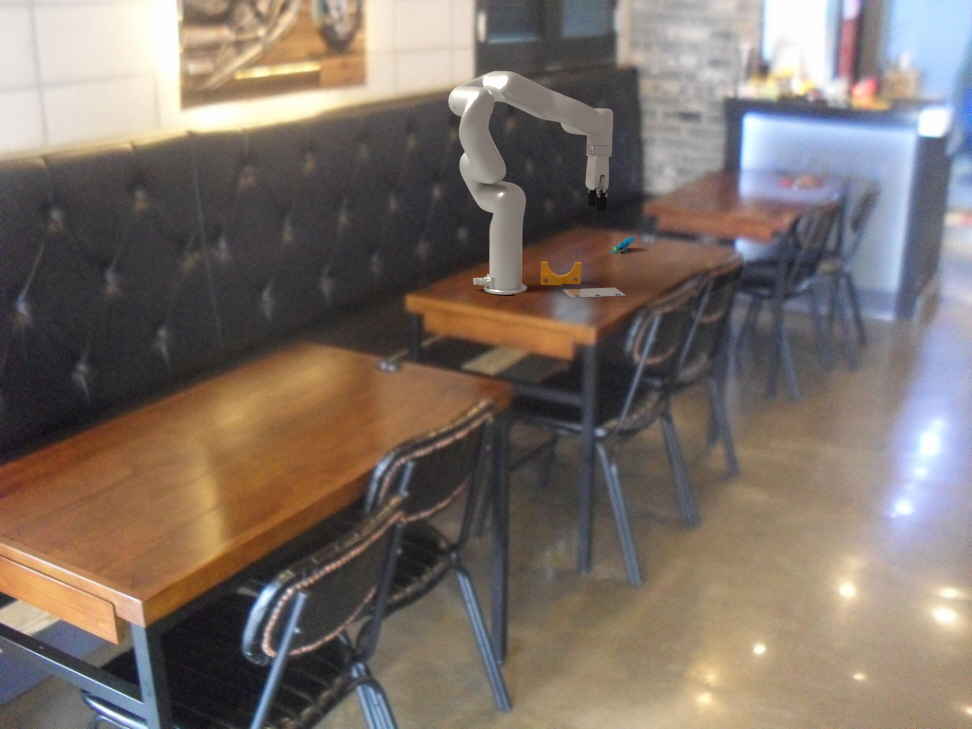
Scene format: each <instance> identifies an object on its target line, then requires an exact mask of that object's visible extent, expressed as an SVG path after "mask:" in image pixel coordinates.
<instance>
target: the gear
mask: <svg viewBox="0 0 972 729" xmlns="http://www.w3.org/2000/svg"><path fill="white" fill-rule="evenodd" d="M634 240H635V236H632V235H630V236H629V237H628V238H627V237H626V238H625V239H623V241H620V242H619V243H618V245H616V246H615V245H614V246H613V247H612V249H613V250H611V251H609V253H610V254H613V253H615V254H616V255H620V256H621V253H628V249H627V248H630V246H631V244H632V243H634Z"/></svg>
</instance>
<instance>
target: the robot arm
mask: <svg viewBox="0 0 972 729" xmlns="http://www.w3.org/2000/svg"><path fill="white" fill-rule="evenodd" d="M447 102H448V107H449V108H450V111H451V113H453V114H455V115H456V116H458V117H460V118H461V119H460V123H459V129H458V137H459V141H460V145H461V147H462V149H463V150H464V152H463V154H462V155H461V157H460V159H459V172H460V175H461V177H462V179H463V181H464V182H465V184H466V186H467V189H468V190H469V192H470V194H471V195H472V197H473V199H474V201H475V203H476V204H477V205H478V207H479V208H480V209H482V210H483V211H485V212H488V213H492V218H491V221H490V224H489V273H487V274H486V276H484V277H473V285H479V286H483V289H484V291H485V292H486V293H488V294H493V295H507V296H508V295H514V294H519V293H522V292H523V293H524V292H526V291H527V290H528V286H527V285H525V284H524V283H522V281H523V278H522V277H523V225H524V215H525V210H526V205H527V198H526V194H525V192H524V190H523V189H522V188H521V187H520V186H519V185H517V184H515V183H513V182H509V181H508V182H507V181H503V179H504V178H505V176H506V174H507V167H506V164H505V160H504V159H503V157H502V155H501V154H500V151H499V149H498V148H497V145H496V144H495V142H494V140H493V138H492V135H491V133H490V128H489V124H490V119H491V115H492V113H493V110H494V107H495V103H496V102H499V103H506V104H507V105H510V106H513V107H514V108H516V109H519V110H521V111H522V112H525V113H527V114H529V115H531V116H533V117H535V118H539V119H541V120H546V121H550V122H555V123H556V122H557V123H560V125H561V127H562V129H563V130H564V131H565V132H566V133H568V134H572V135H580V136H581V135H582V136H586V155H585V156H587V161H586V170H585V171H586V173H585V186H586V188H588V189H587V191H588V193H587V207H595V211H597V212H599V211H604V212H605V211H607V208H608V207H607V206H608V205H607V204H608V188H609V182H610V176H609V175H610V157H612V155H613V130H614V112H613V110H612V109H610V108H604V107H603V108H601V107H599V108H598V107H597V108H594V107H592V106H590V105H588V104H586V103H584V102H582V101H579V100H577V99H575V98H572V97H569V96H567V95H564V94H562V93H560V92H557V91H555V90H552V89H549V88H547V87H545V86H543V85H541V84H539V83H537V82H534V81H533V80H531V79H529V78H527V77H525V76H523V75H521V74H519V73H516V72H514V71H510V70H509V71H508V70H493V71H490V72H487V73H485V74H483V75H481V76H478V77H476V78H473V79H471V80H470V81H466V82H464V83H462V84H460V85H457V86H456V87H455V88H453V89H452V91H450V94H449V96H448V101H447Z"/></svg>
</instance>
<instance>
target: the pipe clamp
mask: <svg viewBox="0 0 972 729" xmlns="http://www.w3.org/2000/svg"><path fill="white" fill-rule="evenodd" d="M581 276H582V262H581V261H575V262H574V265H573V267H572V269H571V270H570V271H569V272H568V273H565V274H557V273H555V272H553V271H552V270H551V269H550V266H549V262H548V261H541V262H540V286H563V285H564V284H565V285H581V284H582V283H581V281H582V277H581Z"/></svg>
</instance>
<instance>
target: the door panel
mask: <svg viewBox="0 0 972 729" xmlns="http://www.w3.org/2000/svg"><path fill="white" fill-rule="evenodd" d="M562 291H563V293H565V294H566V295H567V296H569V297H570V298H572V299H575V298H596V297H597V298H599V297H600V298H601V297H623V296H625V297H626V294H624V293H623V291H620V290H619V289H618V288H616V287H595V288H592V287H591V288H574V289H573V288H570V289H566V288H565V289H562Z"/></svg>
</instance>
